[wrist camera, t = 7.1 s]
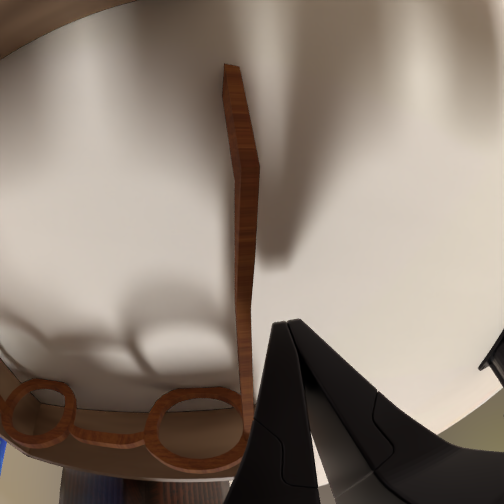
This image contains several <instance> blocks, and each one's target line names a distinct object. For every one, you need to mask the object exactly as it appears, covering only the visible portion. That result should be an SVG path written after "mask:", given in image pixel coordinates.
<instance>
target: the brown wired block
mask: <svg viewBox="0 0 504 504" xmlns="http://www.w3.org/2000/svg"><path fill="white" fill-rule="evenodd" d="M133 1H137V0H0V60H1V59H2V58H4V57H5V56H7V55H9V54H10V53H12V52H14V51H15V50H17V49H19V48H20V47H22V46H24V45H26V44H27V43H29V42H31V41H33V40H35V39H37V38H39V37H41V36H43V35H45V34H47V33H49V32H51V31H53V30H55V29H57V28H59V27H62V26H64V25H66V24H68V23H71V22H73V21H76V20H78V19H81V18H83V17H86V16H88V15H91V14H94V13H97V12H100V11H103V10H106V9H109V8H112V7H115V6H118V5H122V4H125V3H129V2H133ZM19 385H21V382H20V381H19V380H18V379H17V378H16V377H15V376H14V375H13V374H12V372H11V371H10V370H9V369H8V368H7V367H6V365H5V364H4V363H3V362H2V360H1V359H0V395H1V397H2V398H3V399H4V401H6V400H7V398H8V397H9V395H10V394H11V393H12V391H13V390H14V389H15V388H17V387H18V386H19ZM253 407H254V412H255V408H256V405H254V406H253ZM64 408H65V407H60V406H53V405H47V404H41V403H40V402H39V401H38V400H37V399H36V398H35V397H34V396H33V395H32V394H31V393H30V392H29V393H27V394H26V395H25V396H23V397H22V398H21V399H20V401H19V402H18V403H17V405H16V407H15V409H14V411H13V416H12V422H13V426H14V428H15V429H16V430H17V431H19V432H21V433H23V434H26V435H42V434H44V433H47V432H49V431H50V430H52V429H53V428H54V427H56V426H57V424H58V423H59V422H60V420H61V418H62V415H63V412H64ZM1 415H2V414H1V413H0V437H1V438H2V439H4V440H5V441H6V442H8V443H9V444H10V445H12V446H13V447H15V448H16V449H18V450H19V451H20V452H22V453H23V454H25V455H26V456H28V457H31V458H34V459H37V460H41V461H44V462H47V463H50V464H54V465H58V466H61V467H65V468H69V469H74V470H78V471H83V472H88V473H93V474H98V475H104V476H111V477H118V478H125V479H134V480H146V481H161V482H213V481H228V480H234V477H235V475H236V473H237V470H238V468H239V465H240V463H241V462H240V463H239V464H237V465H235V466H233V467H231V468H229V469H227V470H223V471H219V472H215V473H206V474H195V473H186V472H182V471H177V470H175V469H173V468H170V467H168V466H166V465H165V464H163V463H162V462H160V461H159V460H158V459H156V458H155V457H154V456H152V454H151V453H150V452H149V451H148V449H147V448H146V446H145V444H144V445H141V446H138V447H135V448H131V449H118V448H110V447H103V446H96V445H91V444H86V443H83V442H80V441H78V440H77V439H75V438H74V437H73V436H72V435H71V434H69V435H68V437H67V438H66V439H65V440H63V441H62V442H60V443H58V444H56V445H53V446H50V447H48V448H41V449H35V448H28V447H25V446H22V445H20V444H18V443H17V442H15V441H14V440H13V439H12V438H11V437H10V436H9V435H8V433H7V432H6V431H5V430H4V427H3V425H2V420H1ZM148 415H149V413H134V412H110V411H96V410H85V409H76V416H75V421H74V425H75V426H77V427H79V428H82V429H85V430H92V431H99V432H107V433H116V434H134V433H138V432H143V431H144V428H145V424H146V420H147V418H148ZM242 433H243V421H242V418H241V416H240V414H239V413H238V411H237V410H236V409H235V408H229V409H219V410H208V411H193V412H169V413H165V415H164V416H163V418H162V421H161V423H160V427H159V440H160V442H161V444H162V445H163V446H164V447H165V448H166V449H168V450H169V451H170V452H172V453H174V454H176V455H179V456H181V457H186V458H192V459H205V458H212V457H216V456H219V455H222V454H224V453H226V452H228V451H229V450H231V449H232V448H233V447H235V445H236V444H237V443H238V442H239V440H240V438H241V436H242Z"/></svg>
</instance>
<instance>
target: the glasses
mask: <svg viewBox="0 0 504 504" xmlns="http://www.w3.org/2000/svg"><path fill="white" fill-rule="evenodd" d="M222 97H223V104H224V111H225V118H226V125H227V132H228V139H229V146H230V153H231V160H232V167H233V174H234V180H235V313H236V330H237V346H238V361H239V376H240V390H241V395H240V394H238V393H237V392H235V391H232V390H230V389H227V388H223V387H210V388H184V389H176V390H173V391H170V392H168V393H167V394H165V395H163V396H162V397H161V398H159V399H158V400H157V401H156V402H155V404H154V406H153V407H152V409H151V411H150V413H149V415H148V418H147V420H146V424H145V428H144V431H143V432H138V433H134V434H116V433H107V432H99V431H92V430H85V429H82V428H79V427H77V426H75V425H74V421H75V416H76V409H77V404H76V398H75V395H74V393H73V391H72V390H71V388H70V387H69V386H68V385H67V384H65V383H64V382H58V381H51V380H45V379H39V378H36V379H31V380H28V381H26V382H24V383H22V384H21V385H19V386H18V387H17V388H15V389H14V390H13V391H12V393H11V394H10V395H9V397H8V398H7V400H6V401H4V399H3V398H2V397H1V395H0V413H1V414H2V415H1V420H2V425H3V427H4V430H5V431H6V432H7V433H8V435H9V436H10V437H11V438H12V439H13V440H14V441H15V442H17V443H18V444H20V445H22V446H25V447H28V448H35V449H41V448H48V447H50V446H53V445H56V444H58V443H60V442H62V441H63V440H65V439H66V438H67V437H68V435H69V434H71V435H72V436H73V437H74V438H75V439H77V440H78V441H80V442H83V443H86V444H91V445H96V446H103V447H110V448H118V449H131V448H135V447H138V446H141V445H144V444H145V446H146V448H147V449H148V451H149V452H150V453H151V454H152V456H154V457H155V458H156V459H158V460H159V461H160V462H162V463H163V464H165V465H166V466H168V467H170V468H173V469H175V470H177V471H182V472H186V473H195V474H206V473H215V472H219V471H223V470H227V469H229V468H231V467H233V466H235V465H237V464H239V463H240V462H241V460H242V457H243V455H244V452H245V449H246V445H247V442H248V438H249V434H250V430H251V425H252V421H253V417H254V407H253V373H252V337H251V300H252V288H253V276H254V264H255V250H256V231H257V212H258V193H259V174H260V165H259V160H258V155H257V150H256V145H255V140H254V135H253V130H252V125H251V120H250V115H249V110H248V105H247V100H246V95H245V91H244V86H243V81H242V76H241V72H240V67H238V66H233V65H228V64H224V77H223V92H222ZM37 389H51V390H55V391H57V392H60V393H61V394H62V395H63V396H64V397H65V408H64V412H63V415H62V418H61V420H60V422H59V423H58V424H57V426H56V427H54V428H53V429H52V430H50V431H49V432H47V433H44V434H42V435H26V434H23V433H21V432H19V431H17V430H16V429H15V428H14V426H13V422H12V416H13V411H14V409H15V407H16V405H17V403H18V402H19V401H20V399H21V398H22V397H23V396H25V395H26V394H27V393H29V392H31V391H34V390H37ZM196 398H211V399H217V400H221V401H224V402H226V403H228V404H230V405H231V406H233V407H234V408H235V409H236V410H237V411H238V413H239V414H240V416H241V418H242V421H243V433H242V436H241V438H240V440H239V442H238V443H237V444H236V445H235V447H233V448H232V449H231V450H229V451H228V452H226V453H224V454H222V455H219V456H216V457H212V458H205V459H192V458H186V457H181V456H179V455H176V454H174V453H172V452H170V451H169V450H168V449H166V448H165V447H164V446H163V445H162V444H161V442H160V440H159V427H160V423H161V421H162V418H163V416H164V415H165V413H166V411H167V410H168V409H170V408H171V407H172V406H174V405H175V404H177V403H179V402H182V401H185V400H189V399H196Z"/></svg>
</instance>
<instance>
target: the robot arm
mask: <svg viewBox="0 0 504 504" xmlns="http://www.w3.org/2000/svg"><path fill="white" fill-rule="evenodd" d="M488 366H490V367H491V369H492V370H493V372H494V373H495V375H496V377H497V378H498V380H499V381H500V383H501V384H502V386H503V388H504V329H503V331H502V333H501V334H500V336H499V338H498V339H497V341H496V342H495V344H494V345H493V347H492V348H491V350H490V351H489V353H488V354H487V356H486V357H485V359H484V360H483V361H482V363H481V364H480V366H479V367H478V369H479V370H480V371H481V370H483V369H484V368H486V367H488ZM311 434H312V436H313V439H314V442H315V445H316V448H317V451H318V453H319V456H320V459H321V462H322V465H323V467H324V470H325V473H326V476H327V479H328V482H329V484H330V487H331V490H332V493H333V496H334V498H335V501H336V504H504V452H494V451H484V450H476V449H469V448H462V447H459V446H456V445H453V444H451V443H449V442H447V441H445V440H444V439H442V438H440V437H439V436H437V435H436V434H434V433H433V432H431V431H430V430H428V429H427V428H425V427H424V426H423V425H421V424H420V423H418V422H417V421H415V420H414V419H412V418H411V417H410V416H408V415H407V414H405V413H404V412H403V411H401V410H400V409H399V408H398V407H396V406H395V405H394V404H393V403H392V402H391V401H389V400H388V399H387V398H386V397H385V396H384V395H383V394H382V393H380V392H379V391H378V392H377V389H376V388H375V387H374V386H373V385H372V384H370V383H369V382H368V381H367V380H366V379H365V378H364V377H363V376H362V375H361V374H359V373H358V372H357V371H356V370H355V369H354V368H353V367H352V366H351V365H350V364H349V363H347V362H346V361H345V360H344V359H343V358H342V357H341V356H340V355H339V354H338V353H337V352H336V351H334V350H333V349H332V348H331V347H330V346H329V345H328V344H327V343H326V342H325V341H324V340H323V339H322V338H320V337H319V336H318V335H317V334H316V333H315V332H314V331H313V330H312V329H311V328H310V327H309V326H308V325H307V324H305V323H304V322H303V321H302V320H301V319H293V320H288V321H287V322H286V321H281V322H274V323H273V324H272V328H271V333H270V338H269V344H268V349H267V354H266V359H265V364H264V369H263V374H262V379H261V384H260V389H259V394H258V398H257V403H256V408H255V412H254V417H253V421H252V425H251V430H250V434H249V438H248V442H247V445H246V449H245V452H244V455H243V457H242V460H241V463H240V465H239V468H238V470H237V473H236V475H235V477H234V480H233V482H232V484H231V487H230V489H229V491H228V493H227V496H226V498H225V500H224V502H223V504H320V498H319V492H318V489H317V488H318V483H317V475H316V467H315V459H314V452H313V445H312V438H311Z"/></svg>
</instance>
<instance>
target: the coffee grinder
mask: <svg viewBox="0 0 504 504" xmlns="http://www.w3.org/2000/svg"><path fill="white" fill-rule="evenodd" d="M229 489H230V486H229V480H228V481H213V482H161V481H146V480H134V479H125V478H118V477H111V476H104V475H98V474H93V473H88V472H83V471H78V470H74V469H69V468H65V467H63V471H62V478H61V487H60V499H59V504H223V502H224V500H225V498H226V496H227V493H228V491H229Z"/></svg>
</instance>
